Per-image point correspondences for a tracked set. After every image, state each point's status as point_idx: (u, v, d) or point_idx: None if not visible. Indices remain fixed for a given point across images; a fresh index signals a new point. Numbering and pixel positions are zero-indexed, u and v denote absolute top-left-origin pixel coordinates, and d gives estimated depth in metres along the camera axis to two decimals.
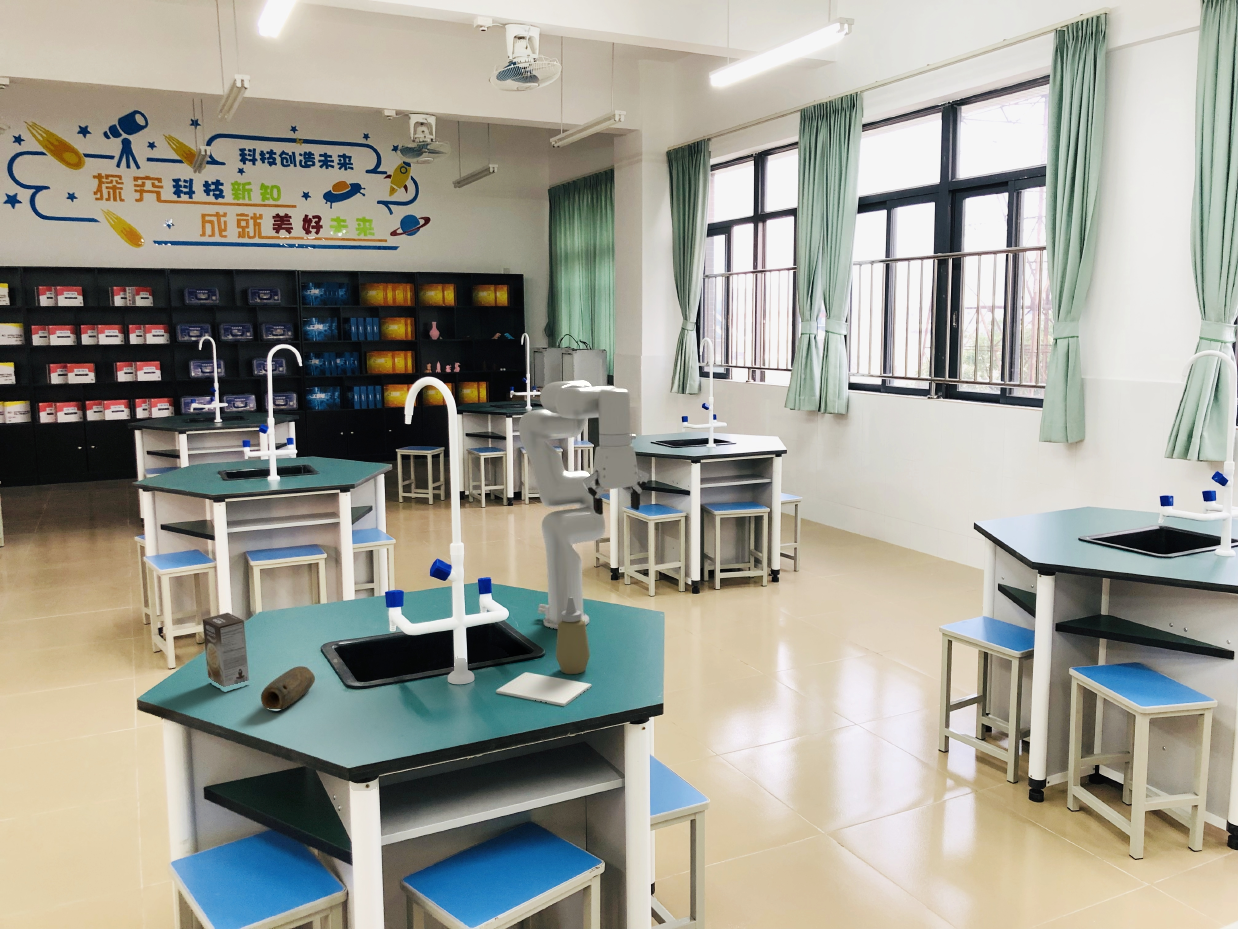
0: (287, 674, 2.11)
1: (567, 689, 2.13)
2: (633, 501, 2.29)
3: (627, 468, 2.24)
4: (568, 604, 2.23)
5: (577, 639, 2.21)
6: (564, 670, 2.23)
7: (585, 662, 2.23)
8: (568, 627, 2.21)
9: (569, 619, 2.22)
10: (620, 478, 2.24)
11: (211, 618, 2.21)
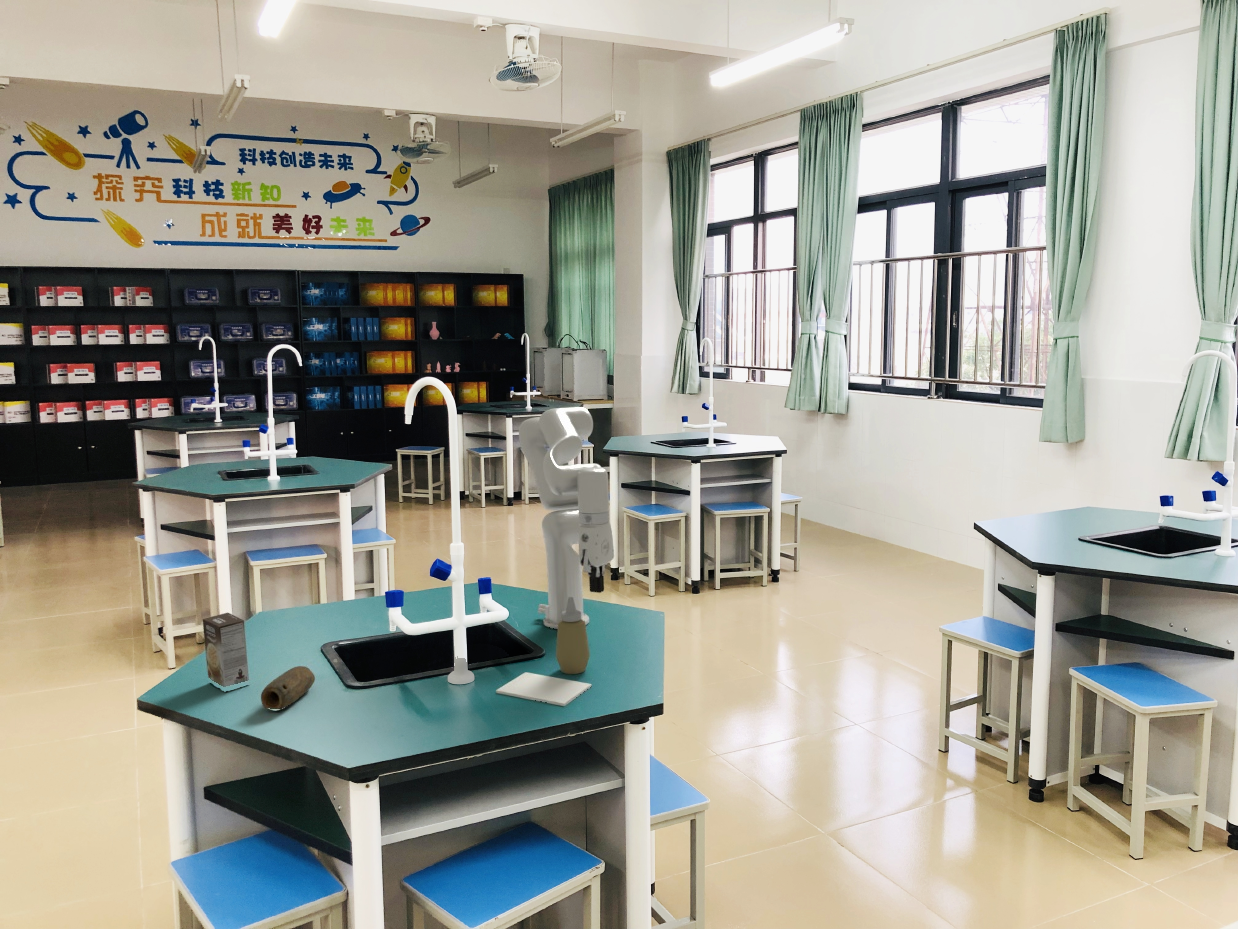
0: (287, 674, 2.11)
1: (567, 689, 2.13)
2: None
3: None
4: (568, 604, 2.23)
5: (577, 639, 2.21)
6: (564, 670, 2.23)
7: (585, 662, 2.23)
8: (568, 627, 2.21)
9: (569, 619, 2.22)
10: None
11: (211, 618, 2.21)
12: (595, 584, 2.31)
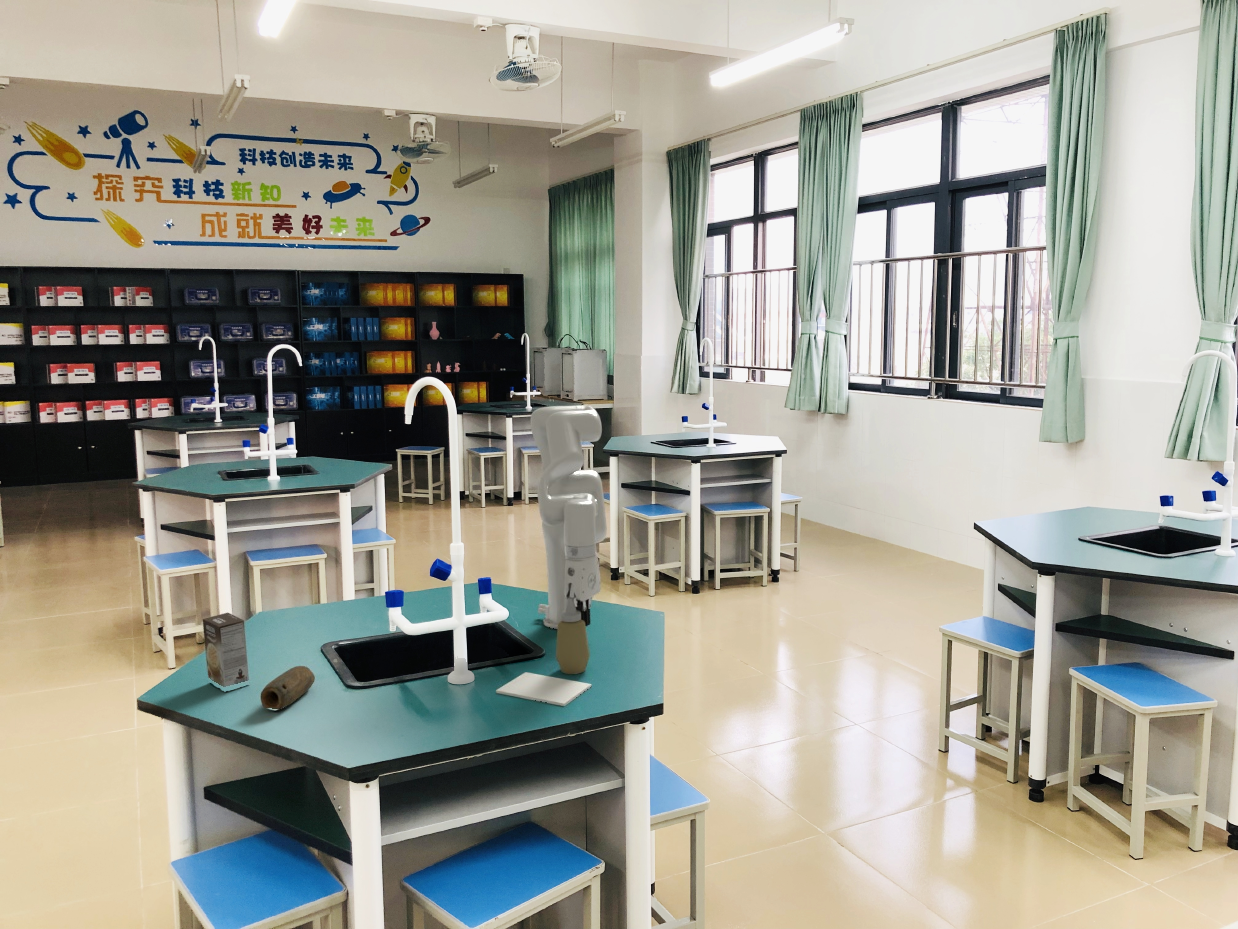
0: (287, 674, 2.11)
1: (567, 689, 2.13)
2: None
3: None
4: (568, 604, 2.23)
5: (577, 640, 2.21)
6: (564, 670, 2.23)
7: (585, 662, 2.23)
8: (568, 627, 2.21)
9: (569, 619, 2.21)
10: None
11: (211, 618, 2.21)
12: (581, 618, 2.27)
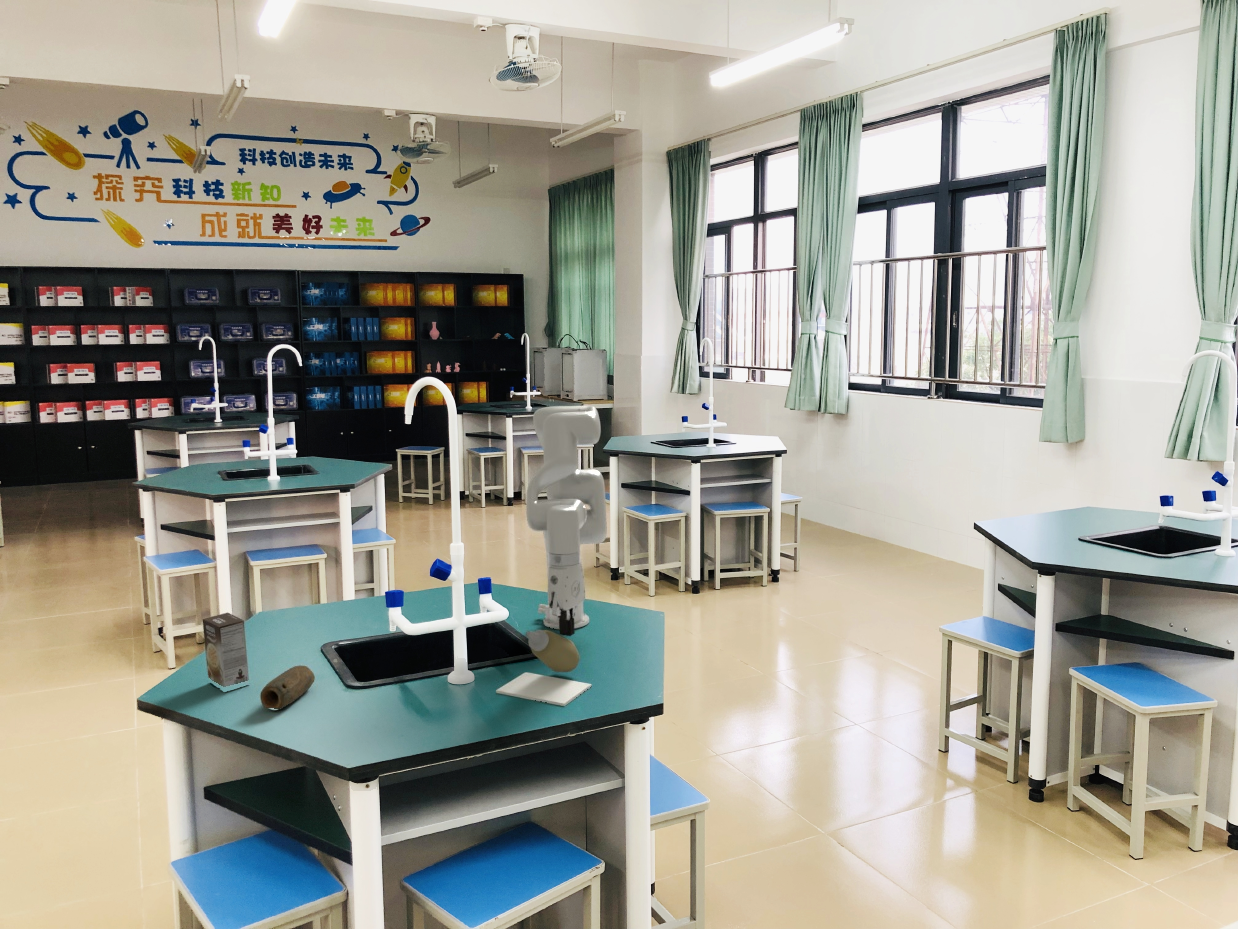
0: (286, 673, 2.11)
1: (567, 689, 2.13)
2: None
3: None
4: (529, 639, 2.12)
5: (557, 657, 2.16)
6: None
7: (576, 658, 2.20)
8: (543, 655, 2.14)
9: (539, 650, 2.13)
10: None
11: (211, 618, 2.21)
12: (565, 627, 2.20)
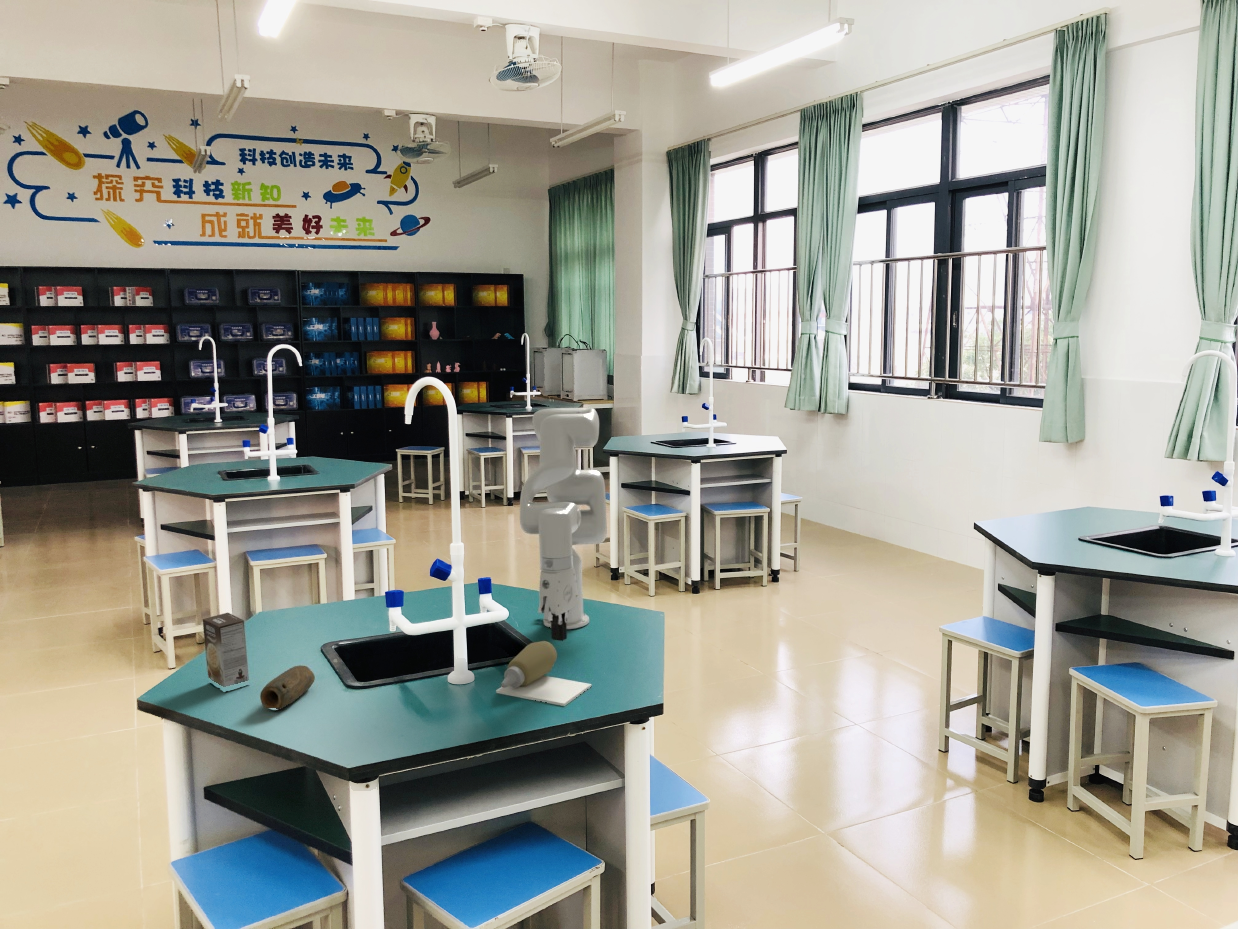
0: (287, 673, 2.11)
1: (567, 689, 2.13)
2: None
3: None
4: (509, 685, 2.10)
5: (536, 663, 2.15)
6: None
7: (546, 645, 2.20)
8: (530, 677, 2.13)
9: (523, 679, 2.12)
10: None
11: (211, 618, 2.21)
12: (557, 632, 2.17)
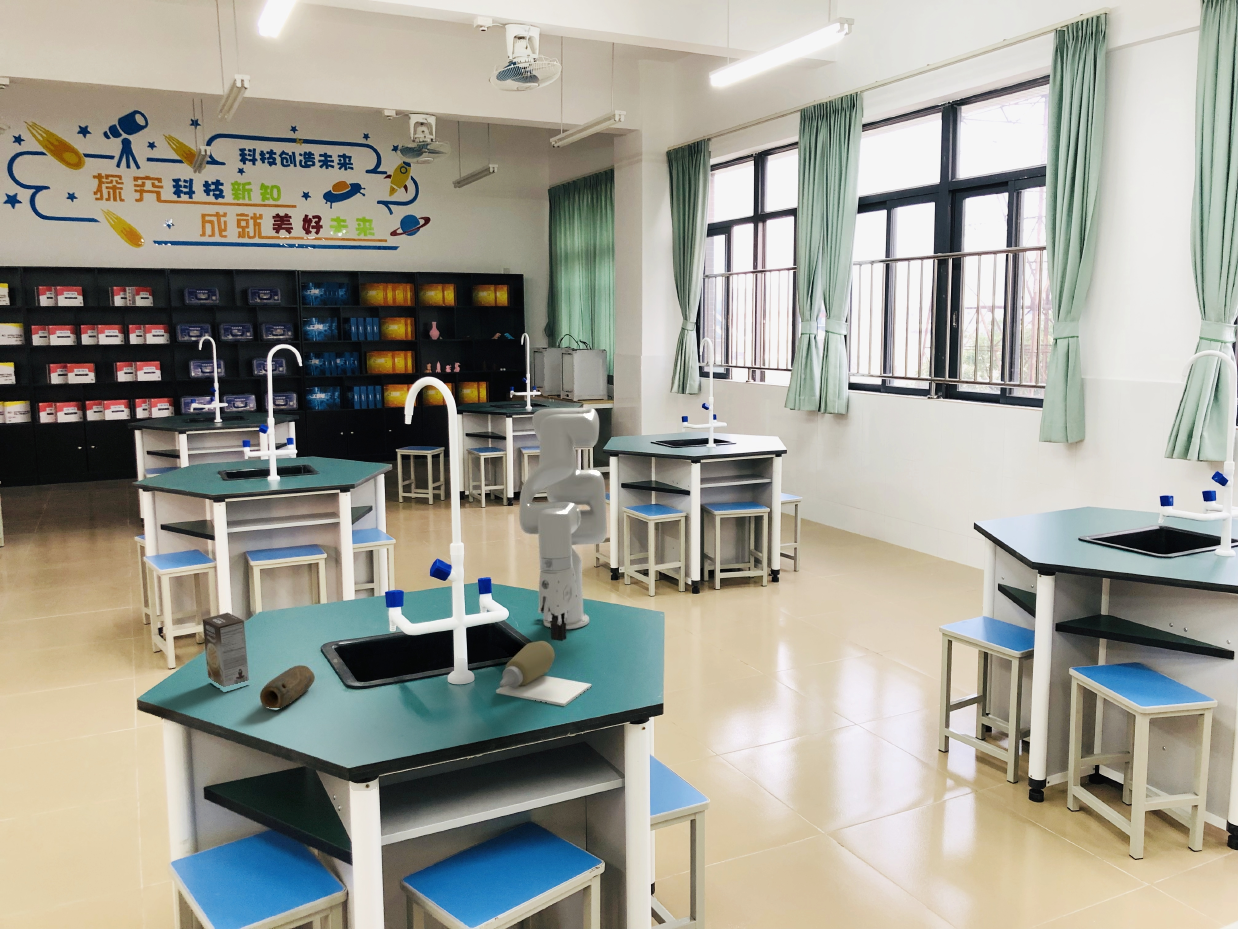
0: (286, 673, 2.11)
1: (567, 689, 2.13)
2: None
3: None
4: (507, 684, 2.10)
5: (533, 660, 2.15)
6: (553, 660, 2.23)
7: (542, 644, 2.21)
8: (528, 675, 2.13)
9: (521, 677, 2.12)
10: None
11: (211, 618, 2.21)
12: (556, 632, 2.17)
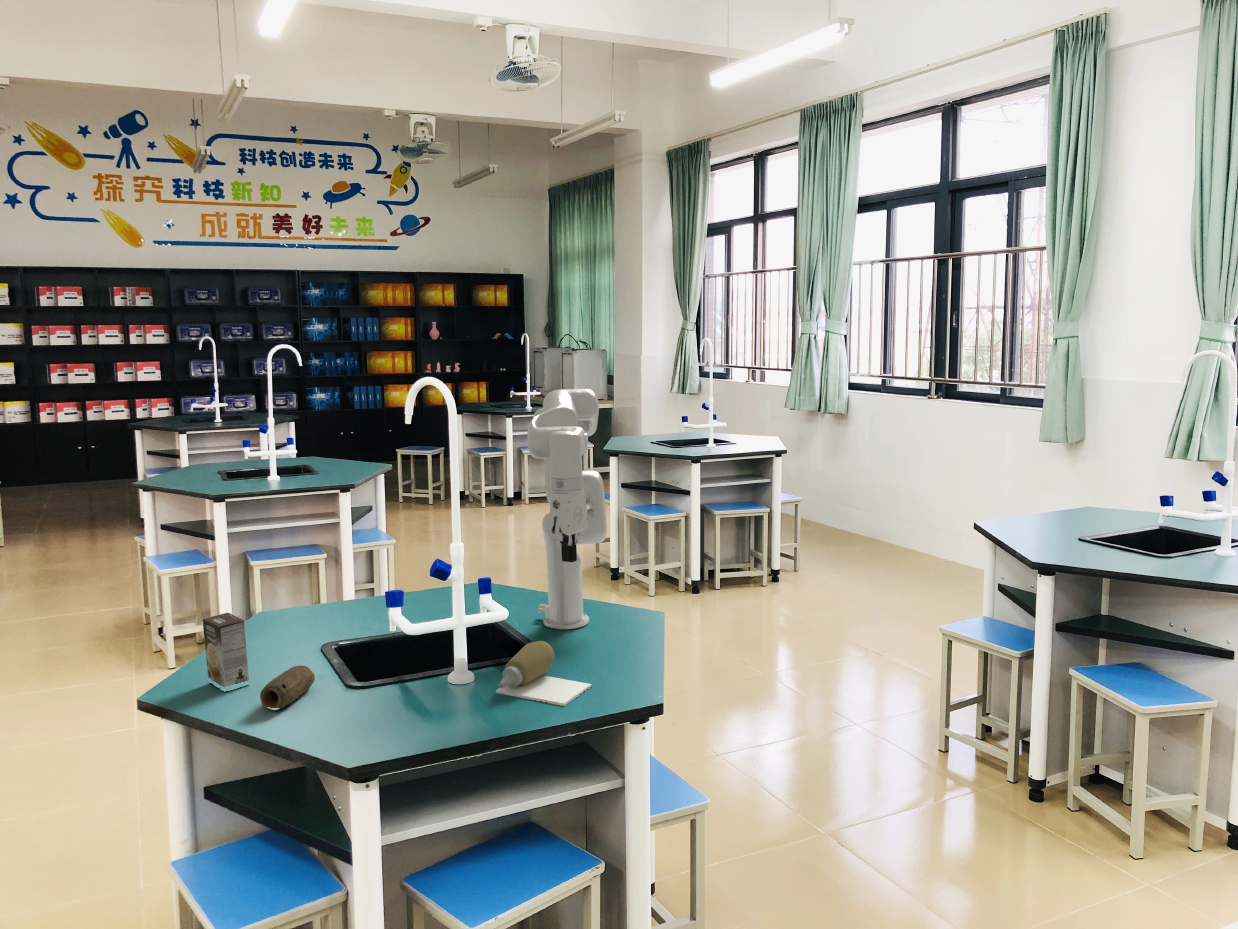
0: (286, 673, 2.11)
1: (567, 689, 2.13)
2: None
3: None
4: (507, 684, 2.10)
5: (533, 660, 2.15)
6: (552, 660, 2.23)
7: (541, 644, 2.21)
8: (528, 674, 2.13)
9: (521, 677, 2.12)
10: None
11: (211, 618, 2.21)
12: (567, 553, 2.20)
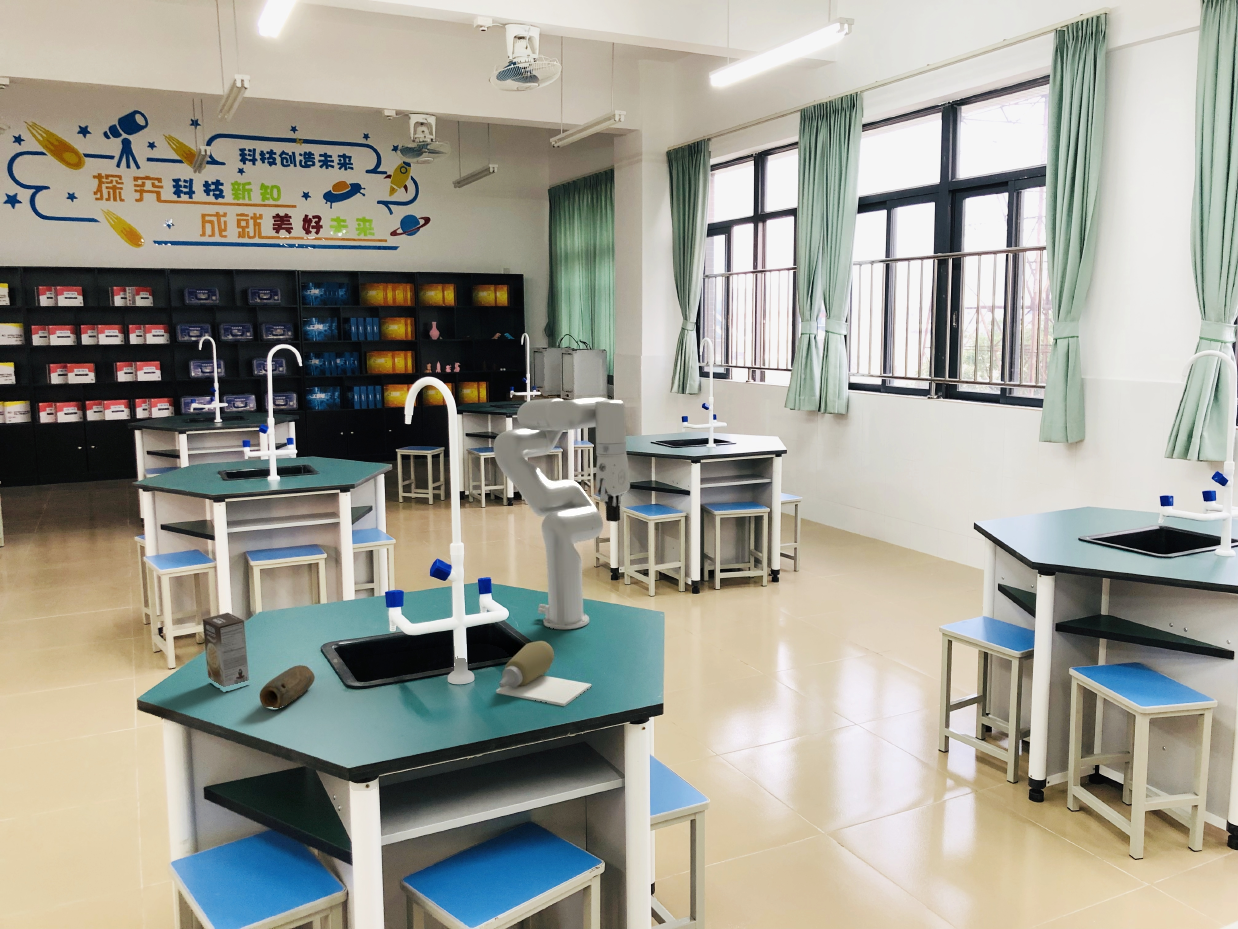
0: (286, 673, 2.11)
1: (567, 689, 2.13)
2: None
3: None
4: (507, 684, 2.10)
5: (533, 660, 2.15)
6: (552, 660, 2.23)
7: (541, 644, 2.21)
8: (528, 674, 2.13)
9: (521, 677, 2.12)
10: None
11: (211, 618, 2.21)
12: (611, 513, 2.38)
